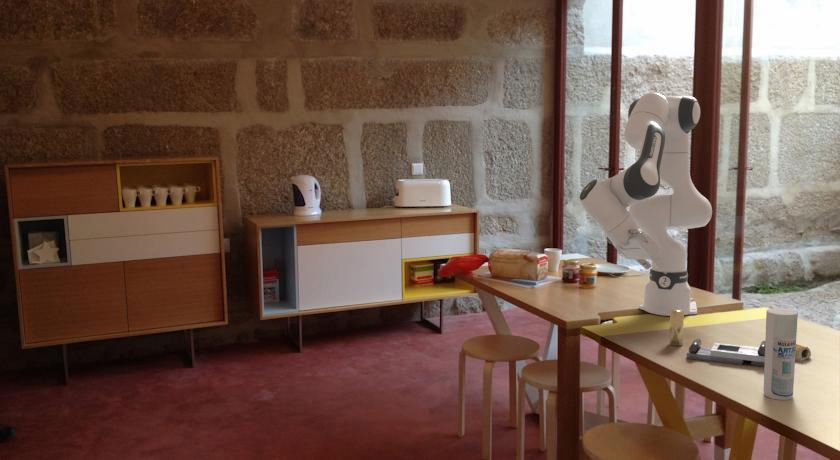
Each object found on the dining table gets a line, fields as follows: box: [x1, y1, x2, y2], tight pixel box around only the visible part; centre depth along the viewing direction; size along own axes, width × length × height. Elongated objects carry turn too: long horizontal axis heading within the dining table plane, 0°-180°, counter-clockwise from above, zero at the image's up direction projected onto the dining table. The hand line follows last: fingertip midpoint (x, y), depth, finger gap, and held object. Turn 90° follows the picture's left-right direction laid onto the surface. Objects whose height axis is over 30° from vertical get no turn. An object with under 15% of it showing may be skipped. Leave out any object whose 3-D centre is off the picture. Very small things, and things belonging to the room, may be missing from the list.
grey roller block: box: [686, 338, 765, 368], centre depth 209 cm, size 20×8×5 cm, turn 61°
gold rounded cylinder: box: [669, 309, 685, 347], centre depth 223 cm, size 4×4×10 cm
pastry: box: [795, 343, 812, 362], centre depth 211 cm, size 9×7×4 cm
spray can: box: [763, 307, 799, 401], centre depth 180 cm, size 6×6×20 cm
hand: (655, 268), depth 219 cm, fingers open, 8 cm apart
